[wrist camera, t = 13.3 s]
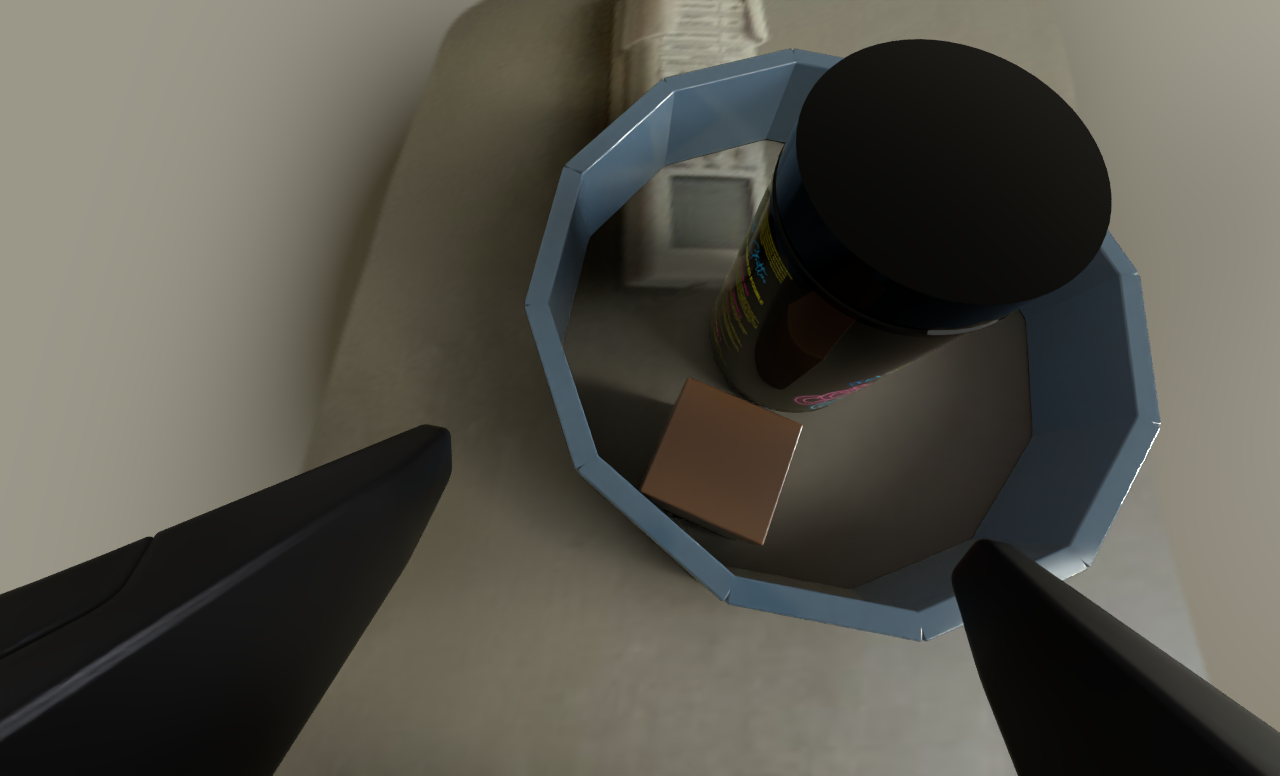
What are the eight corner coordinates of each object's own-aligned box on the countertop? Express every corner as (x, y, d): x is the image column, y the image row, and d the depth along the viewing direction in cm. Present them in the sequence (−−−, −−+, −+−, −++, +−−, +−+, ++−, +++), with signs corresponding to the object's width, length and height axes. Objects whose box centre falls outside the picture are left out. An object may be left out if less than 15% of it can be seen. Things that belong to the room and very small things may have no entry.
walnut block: (731, 539, 17) (763, 546, 13) (635, 496, 17) (639, 491, 14) (765, 444, 18) (803, 424, 14) (673, 405, 18) (688, 375, 15)
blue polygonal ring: (1065, 654, 17) (1200, 696, 13) (491, 543, 17) (453, 551, 13) (1032, 176, 23) (1117, 107, 19) (608, 97, 23) (606, 12, 19)
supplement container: (741, 440, 18) (890, 351, 8) (681, 297, 20) (743, 75, 10) (886, 387, 19) (1181, 248, 9) (817, 254, 21) (1002, 10, 11)
